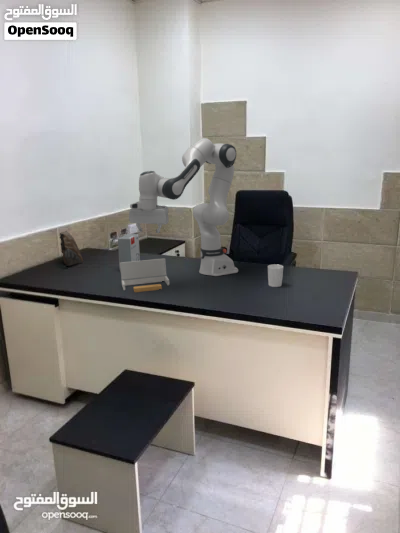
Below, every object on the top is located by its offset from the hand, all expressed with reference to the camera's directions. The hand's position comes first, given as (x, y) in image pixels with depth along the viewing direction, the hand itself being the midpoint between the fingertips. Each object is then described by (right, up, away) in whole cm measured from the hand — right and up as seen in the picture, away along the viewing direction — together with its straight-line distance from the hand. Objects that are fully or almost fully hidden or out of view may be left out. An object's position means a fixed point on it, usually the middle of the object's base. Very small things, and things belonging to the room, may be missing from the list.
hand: (149, 232), depth 210 cm
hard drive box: (-17, -19, +43) cm, 50 cm away
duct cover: (-4, -19, +12) cm, 23 cm away
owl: (-56, -15, +60) cm, 83 cm away
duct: (-3, -27, +10) cm, 29 cm away
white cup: (+64, -27, +6) cm, 70 cm away
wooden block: (-1, -30, +4) cm, 30 cm away
